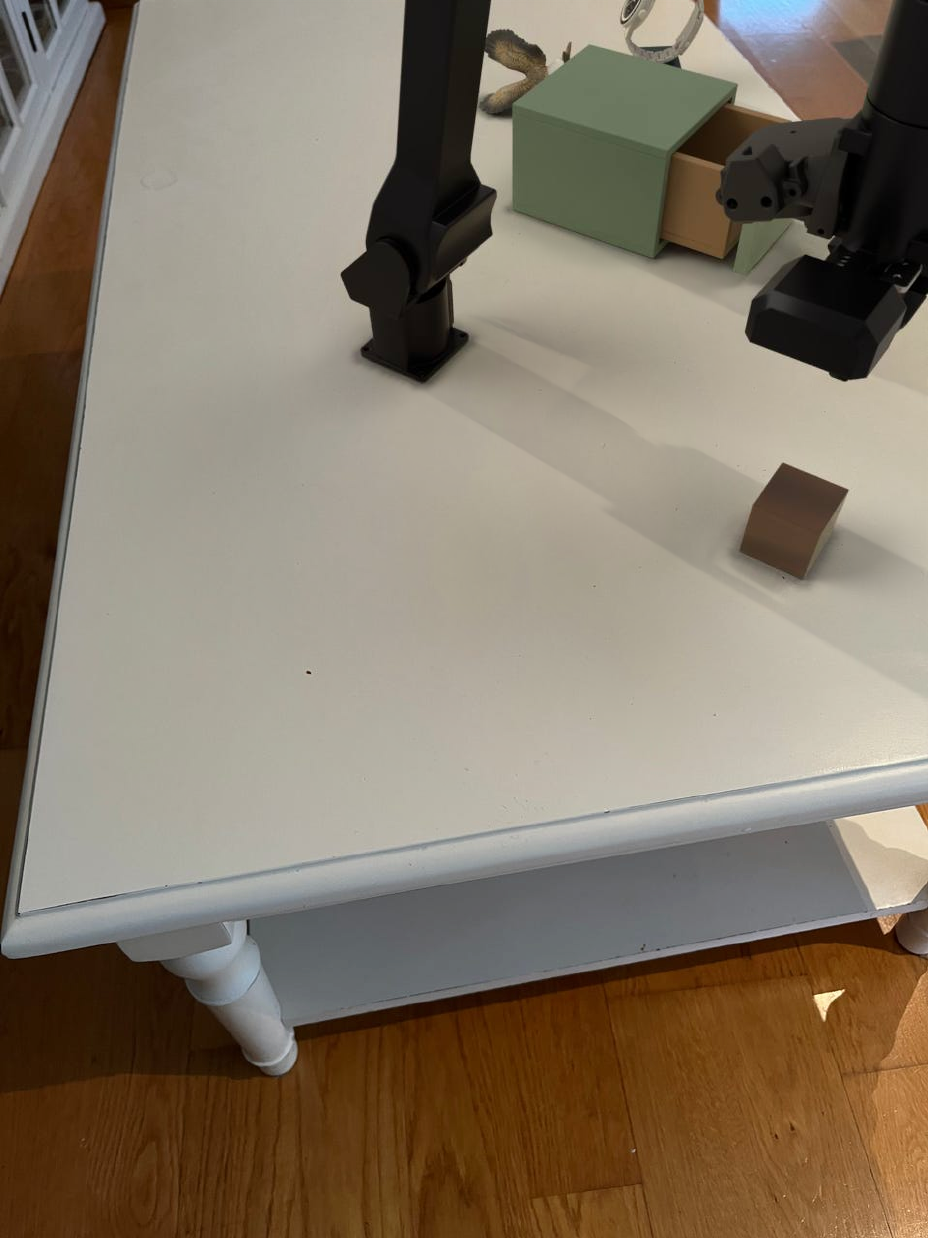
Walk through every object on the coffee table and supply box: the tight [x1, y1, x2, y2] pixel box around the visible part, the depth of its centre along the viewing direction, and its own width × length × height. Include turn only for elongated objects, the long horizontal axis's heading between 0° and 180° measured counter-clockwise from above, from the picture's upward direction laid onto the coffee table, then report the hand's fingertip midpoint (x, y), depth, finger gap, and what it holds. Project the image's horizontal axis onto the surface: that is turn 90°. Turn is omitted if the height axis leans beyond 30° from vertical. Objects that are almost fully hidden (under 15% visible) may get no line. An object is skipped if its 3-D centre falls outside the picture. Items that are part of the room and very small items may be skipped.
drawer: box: [660, 103, 814, 277], centre depth 81 cm, size 18×11×8 cm, turn 55°
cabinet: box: [511, 43, 739, 259], centre depth 85 cm, size 15×13×10 cm
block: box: [738, 462, 850, 580], centre depth 63 cm, size 4×4×4 cm
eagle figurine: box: [478, 28, 573, 114], centre depth 98 cm, size 8×7×9 cm
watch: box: [619, 0, 705, 69], centre depth 96 cm, size 6×8×11 cm
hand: (839, 375), depth 56 cm, fingers closed
